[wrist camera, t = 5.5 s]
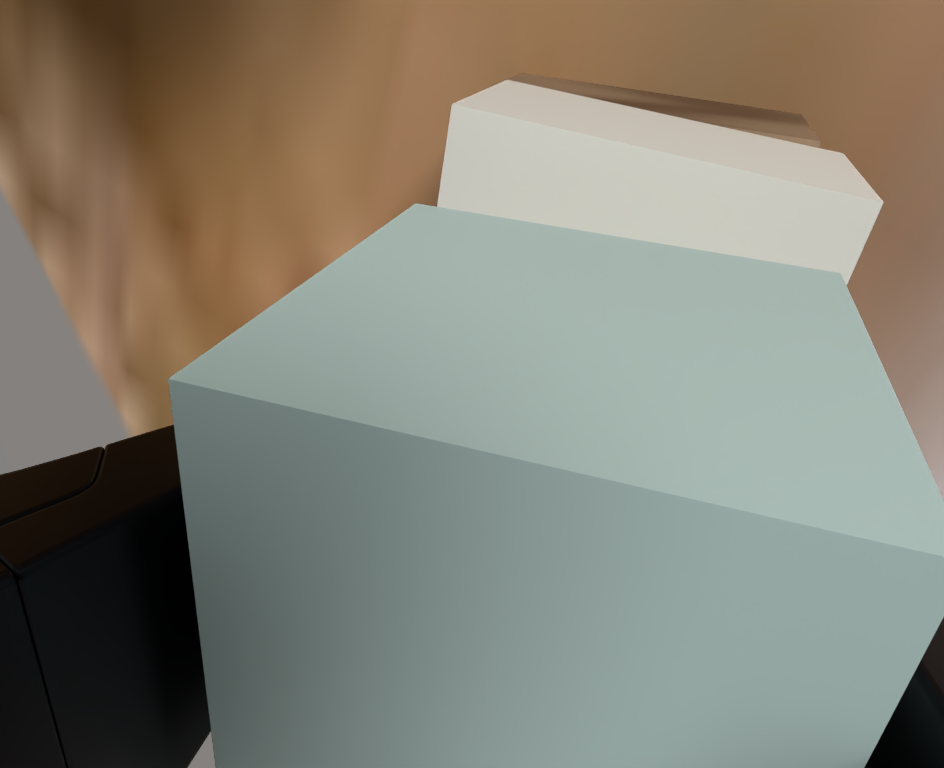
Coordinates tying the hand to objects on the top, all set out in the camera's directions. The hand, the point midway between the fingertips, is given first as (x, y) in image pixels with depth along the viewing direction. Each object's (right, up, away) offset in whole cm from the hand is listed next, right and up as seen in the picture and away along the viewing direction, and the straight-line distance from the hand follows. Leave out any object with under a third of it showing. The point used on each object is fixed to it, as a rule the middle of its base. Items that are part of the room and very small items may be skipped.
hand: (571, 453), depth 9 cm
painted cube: (0, 0, +1) cm, 1 cm away
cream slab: (+2, +3, +6) cm, 7 cm away
